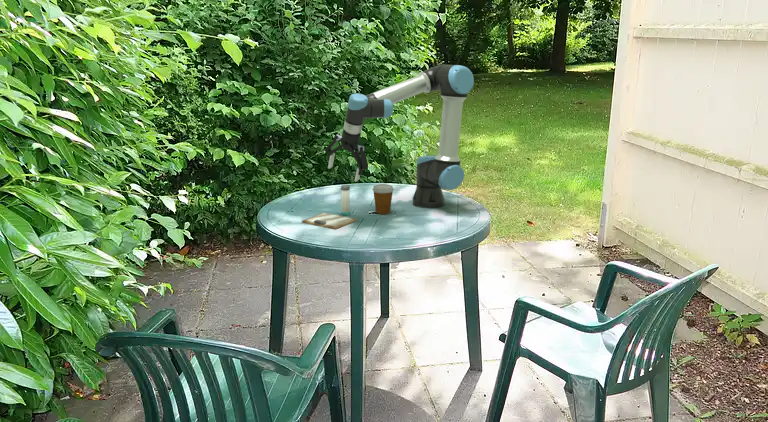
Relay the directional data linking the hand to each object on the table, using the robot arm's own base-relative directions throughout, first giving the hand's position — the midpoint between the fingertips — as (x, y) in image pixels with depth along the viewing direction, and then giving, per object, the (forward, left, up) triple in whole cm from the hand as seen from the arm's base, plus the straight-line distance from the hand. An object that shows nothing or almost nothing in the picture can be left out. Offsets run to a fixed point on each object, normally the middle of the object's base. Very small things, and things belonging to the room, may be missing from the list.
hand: (343, 173), depth 267 cm
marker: (+3, -5, -20) cm, 20 cm away
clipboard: (+2, +8, -20) cm, 21 cm away
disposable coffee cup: (-9, -17, -20) cm, 28 cm away
